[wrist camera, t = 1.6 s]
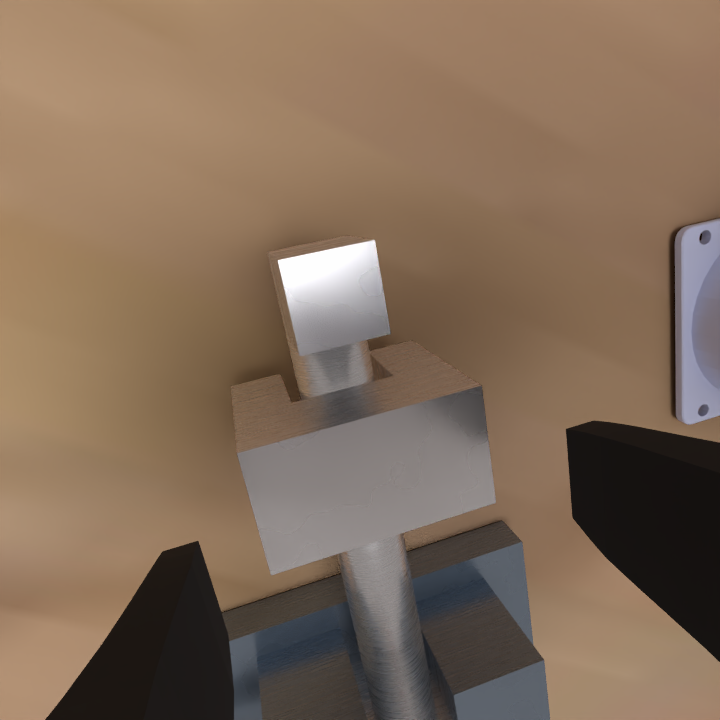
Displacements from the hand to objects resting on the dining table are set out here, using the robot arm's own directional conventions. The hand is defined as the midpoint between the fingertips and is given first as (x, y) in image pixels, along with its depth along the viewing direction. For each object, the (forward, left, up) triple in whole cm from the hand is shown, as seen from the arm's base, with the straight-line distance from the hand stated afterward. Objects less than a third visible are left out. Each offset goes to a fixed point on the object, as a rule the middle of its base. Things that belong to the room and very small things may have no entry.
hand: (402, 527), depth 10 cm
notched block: (0, 0, -6) cm, 6 cm away
